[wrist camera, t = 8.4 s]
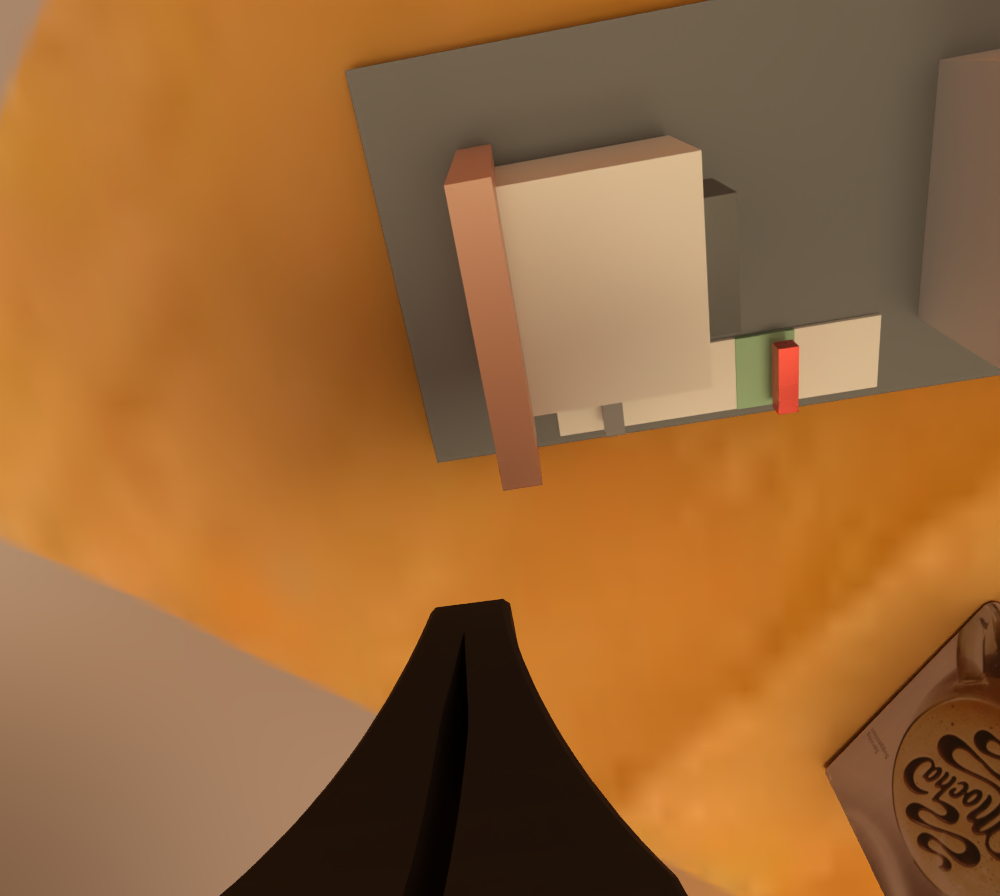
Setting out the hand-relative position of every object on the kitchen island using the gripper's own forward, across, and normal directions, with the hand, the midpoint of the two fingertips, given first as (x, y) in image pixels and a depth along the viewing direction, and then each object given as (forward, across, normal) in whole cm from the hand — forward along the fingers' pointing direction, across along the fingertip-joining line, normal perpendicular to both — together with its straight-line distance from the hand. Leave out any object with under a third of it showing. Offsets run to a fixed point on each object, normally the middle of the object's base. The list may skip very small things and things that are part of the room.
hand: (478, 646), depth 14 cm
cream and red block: (+8, -3, -4) cm, 9 cm away
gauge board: (+9, -7, -5) cm, 12 cm away
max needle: (+8, -8, -1) cm, 11 cm away
